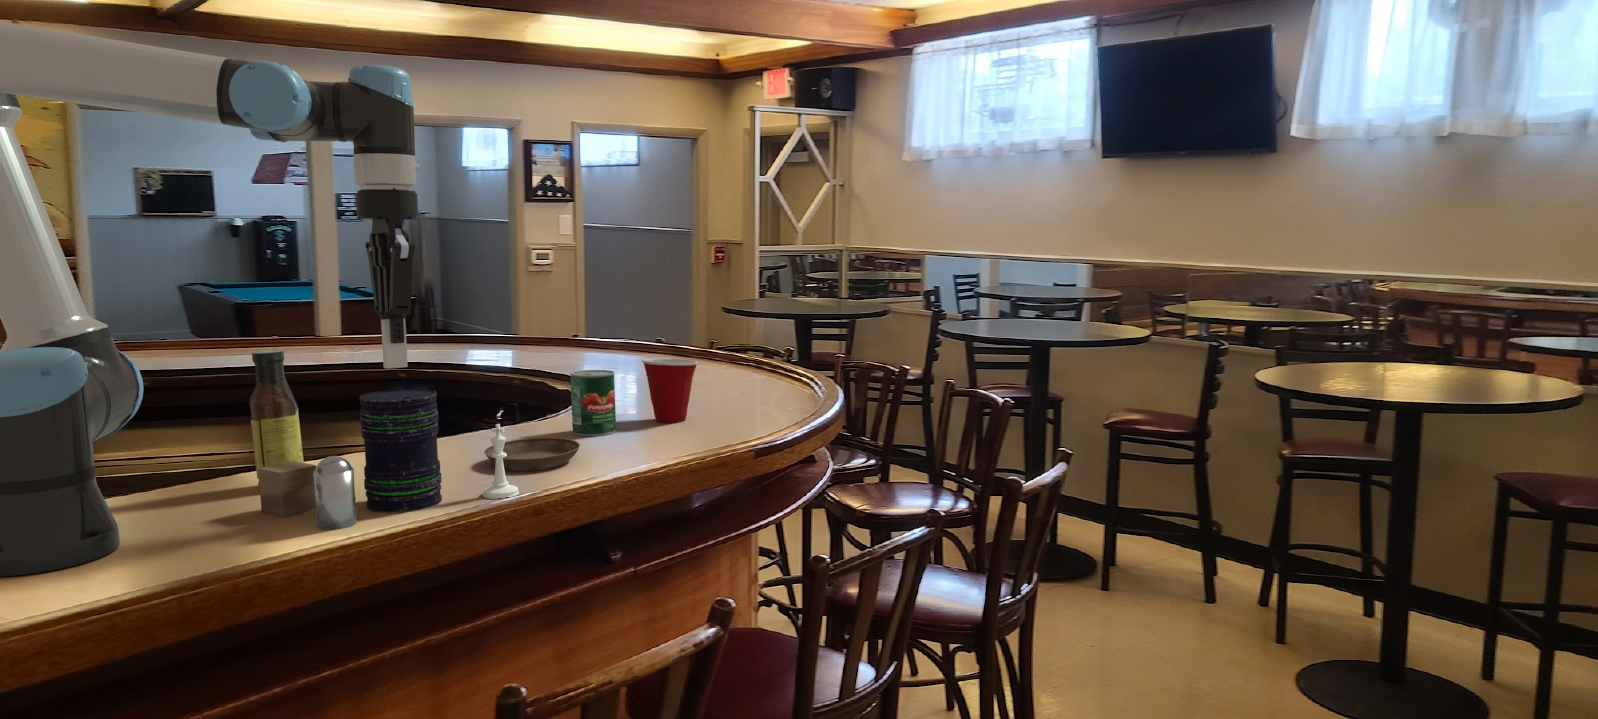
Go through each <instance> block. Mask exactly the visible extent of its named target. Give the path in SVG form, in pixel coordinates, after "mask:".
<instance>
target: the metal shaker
mask: <svg viewBox="0 0 1598 719" xmlns="http://www.w3.org/2000/svg"><path fill="white" fill-rule="evenodd" d="M354 473H355V472H354V467H352V465H351V463H350V462H349V461H348V460H347V458H344V457H342V456H340V455H330V456H327V457H325V458H323V459H322V460H320V461H319V462H318V463H317V465H316V469H315V471H314V472H313V474H314V488H315V503H316V510H315V515H316V528H317V529H319V530H326V531H329V530H331V531H332V530H333V531H334V530H340V529H346V528H350V527H353V526H355V525H356V524H357V523H358V522H357V519H358V518H357V504H356V491H355V490H356V488H355V474H354Z"/></svg>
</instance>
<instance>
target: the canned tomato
mask: <svg viewBox="0 0 1598 719" xmlns="http://www.w3.org/2000/svg"><path fill="white" fill-rule="evenodd" d="M569 375H570V394H571V395H570V397H571V419H572V422H571V423H572V430H571V432H572V434H573V435H575V436H578V437H579V436H580V437H602V436H609V435H613V434H615V433H616V432H617V420H616V418H617V414H616V412H617V411H616V390H615V388H616V386H615V371H613V370H606V369H586V370H577V371H572V372H570V373H569Z"/></svg>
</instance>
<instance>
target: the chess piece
mask: <svg viewBox="0 0 1598 719" xmlns="http://www.w3.org/2000/svg"><path fill="white" fill-rule="evenodd" d="M491 432H492V433H495V436H493V437H491V438H490V442H491V444H492V446H493V447H494V449H495V453H493V454H492V456H491V457H493V458H496V465H495V464H494V465H495V466H494V467H495V468H494V476H493V477H494V478H493V482H492V483H491V484H492V485H490V486H488V487H486V488H484V489H483V491H482V497H483V498H486V499H490V500H491V499H492V500H499V499H498V498H503V499H506V498H505V497H510V498H513V496H514V497H516V496H518V495H519V494H520V492H519V487H518V486H516V485H513V484H509V483H510V482H509V481H507V476H506V472H505V470H506V469H504V464H503V457H506V456H507V454H506V453H504V452H503V448H504V444H505V442H507V441H506V440H507V438H506V436H502V435H501V433H505V428H501V424H500V423H497V424H495V428H493V427H492V428H491Z"/></svg>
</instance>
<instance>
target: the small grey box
mask: <svg viewBox="0 0 1598 719" xmlns="http://www.w3.org/2000/svg"><path fill="white" fill-rule="evenodd" d="M316 466H317V465H316V464H311V463H306V462H304V463H302V462H296V461H292V462H287V463H282V464H277V465H272V466H268V467H263V468H258V472H259V479H258V482H259V483H258V484H259V485H260V487H259V493H260V494H259V495H260V496H259V497H260V498H259V499H260V506H261V507H260V508H261V509H260V510H261V514H266V515H269V516H270V515H271V516H274V517H279V518H283V519H284V518H288V517H292V516H295V515H296V516H297V515H301V514H303V513H307V512H313V511H316V503H315V488H314V474H313V472H314V471H315V469H316ZM259 485H258V486H259Z"/></svg>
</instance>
